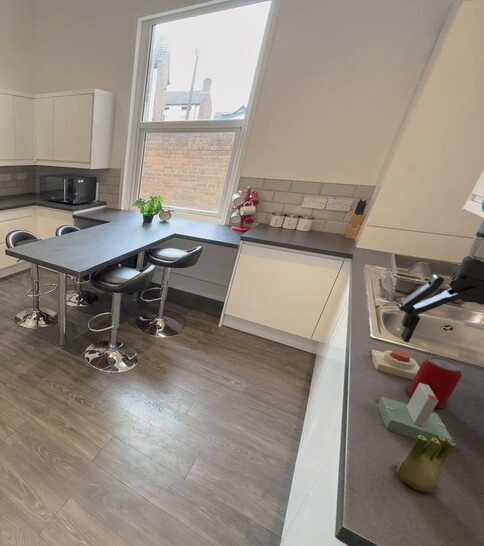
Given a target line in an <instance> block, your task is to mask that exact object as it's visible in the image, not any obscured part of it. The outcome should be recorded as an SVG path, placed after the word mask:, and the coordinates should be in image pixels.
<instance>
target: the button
mask: <svg viewBox="0 0 484 546" xmlns="http://www.w3.org/2000/svg"><path fill="white" fill-rule="evenodd" d="M391 351H392V352H391V355H390V356H391V357H393V358H394V359H397V360H399V361H403V362H409V360H410V358H412V356H411V354H409V353H407V352H406V351H403V350H399V349H392V350H391Z"/></svg>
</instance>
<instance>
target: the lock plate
mask: <svg viewBox="0 0 484 546" xmlns="http://www.w3.org/2000/svg"><path fill="white" fill-rule="evenodd" d="M407 405H408V403H404V402H401V401H399V400H395V399H391V398H388V397H385V396H381V397H380V400H379V401H378V404H377V407H378V410H379V413H380V415H381V418H382V422H383V423H384V427H385V429H386V431H387V430H388V431H391V432H393V433H396V434H399V435H401V436H404V437H408V438H411V439H413V440H416V438H417V436H418V435H422V436H423V437H425V438H426V439H427V442H426V444H427V443H428V442H429V441H430V440H431V439H432V438H436V439H437V437H438V436H440V437H442V438H445V440H451V441H453V438H452V437H451V434H450V433H449V431H448V430H447V426H446V425H445V424H444V423H443V420H442V419H441V417H440V416H439V415H438V413H436V412H434V411H432V413H431V415H430V416H429V418H428V420H427V421H426V423H425V425H424V426H421V425H418V424H415V423H414V422H413V420H412V417H411V415H410V413H409V411H408V409H407ZM453 442H454V441H453Z"/></svg>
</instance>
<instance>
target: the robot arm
mask: <svg viewBox="0 0 484 546" xmlns="http://www.w3.org/2000/svg"><path fill="white" fill-rule="evenodd" d="M481 210H482V212H483V213H484V198H483V199H482V202H481ZM466 254H467V256H465V257H463V258H462V261H461V262H460V265H459V267H458V269H457V271H456V273H455V275H454V276H452V277H451V278H450V277H445V276H442V275H440V274H439V273H434V274H432V275H431V276H430V277H429V280H428V281H427V282H426V283H424V284H423V285H422V286H420V287H419V288H417V289H416V290H415V291H413V292H412V293H410V294H409V295H408V296H406V297H405V298H404V299H402V300H401V301H399V302H398V303H397V304H396V306H397V308H398V310H399V311H400V312H403V313H404V316H403V318H402V320H401V325H402V327H404V328H403V331H402V333H401V335H400V338H401V339H402V341H403V342H404V343H410V341H411V339H412V336H413V334H414V332H415V331H416V329H417V326H418V324H419V322H420V320H421V317H420V316H419V315H421V314H423V313H426V312H428V311H430V310H433V309H435V308H438V307H440V306H443V305H446V304H448V303H452V302H453V303H454V302H456V301H459V300H460V301H462V302H464V303H475V304H478V305H482V306H484V218H482V221H481V222H480V226H479V227H478V229H477V232H476V233H475V235H474V237H473V239H472V241H471V243H470V245H469V247H468V248H467V250H466ZM446 285H449V287H450V288H448V289H446V290H443V291H441V293H439V294H437V295H433V296H432V297H430V298H427V297H429V296H430V295H432V294H433V293H434V292H436V291H437V290H438V289H439V288H442V287H445V286H446ZM426 298H427V299H426ZM424 299H425V300H424Z"/></svg>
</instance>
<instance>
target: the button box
mask: <svg viewBox="0 0 484 546" xmlns="http://www.w3.org/2000/svg"><path fill="white" fill-rule="evenodd" d="M391 352H392V350H387V349H386V350H384V351H381V350H376V349H372V350H371V352H370V354H369V356H370V358H371V360H372V364H373V365H374V368H375V370H376V371H379V372H383V373H387V374H389V375H394V376H398V377H401V378H405V379H408V380H412V381H413V379H414V377H415V376H416V374H417V372H418V370H419V368H420V366H419V364H418V363H417V361H416V360H415V359H414V358H413V357H411V358H410V360H409V362H403V361H399V360H397V359H394V358H393V357H391V356H390V355H391Z"/></svg>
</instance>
